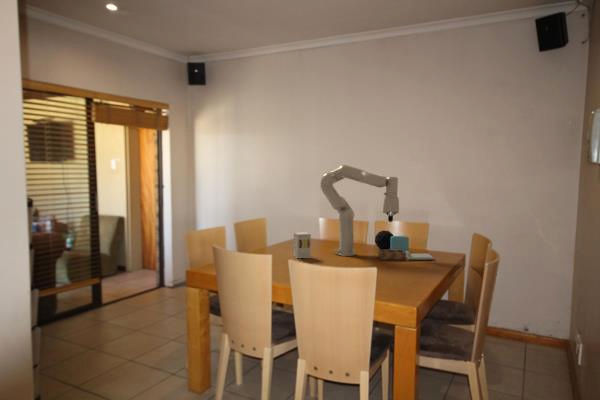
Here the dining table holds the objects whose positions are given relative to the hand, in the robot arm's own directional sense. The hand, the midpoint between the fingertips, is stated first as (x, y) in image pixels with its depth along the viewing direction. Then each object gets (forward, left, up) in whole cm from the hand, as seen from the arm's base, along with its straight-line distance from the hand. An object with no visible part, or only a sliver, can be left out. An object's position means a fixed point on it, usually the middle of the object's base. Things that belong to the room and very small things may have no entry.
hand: (390, 221), depth 287 cm
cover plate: (+17, -8, -24) cm, 31 cm away
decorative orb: (+1, +23, -24) cm, 34 cm away
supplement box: (-60, -5, -24) cm, 65 cm away
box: (0, -8, -24) cm, 25 cm away
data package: (+9, +10, -24) cm, 28 cm away
